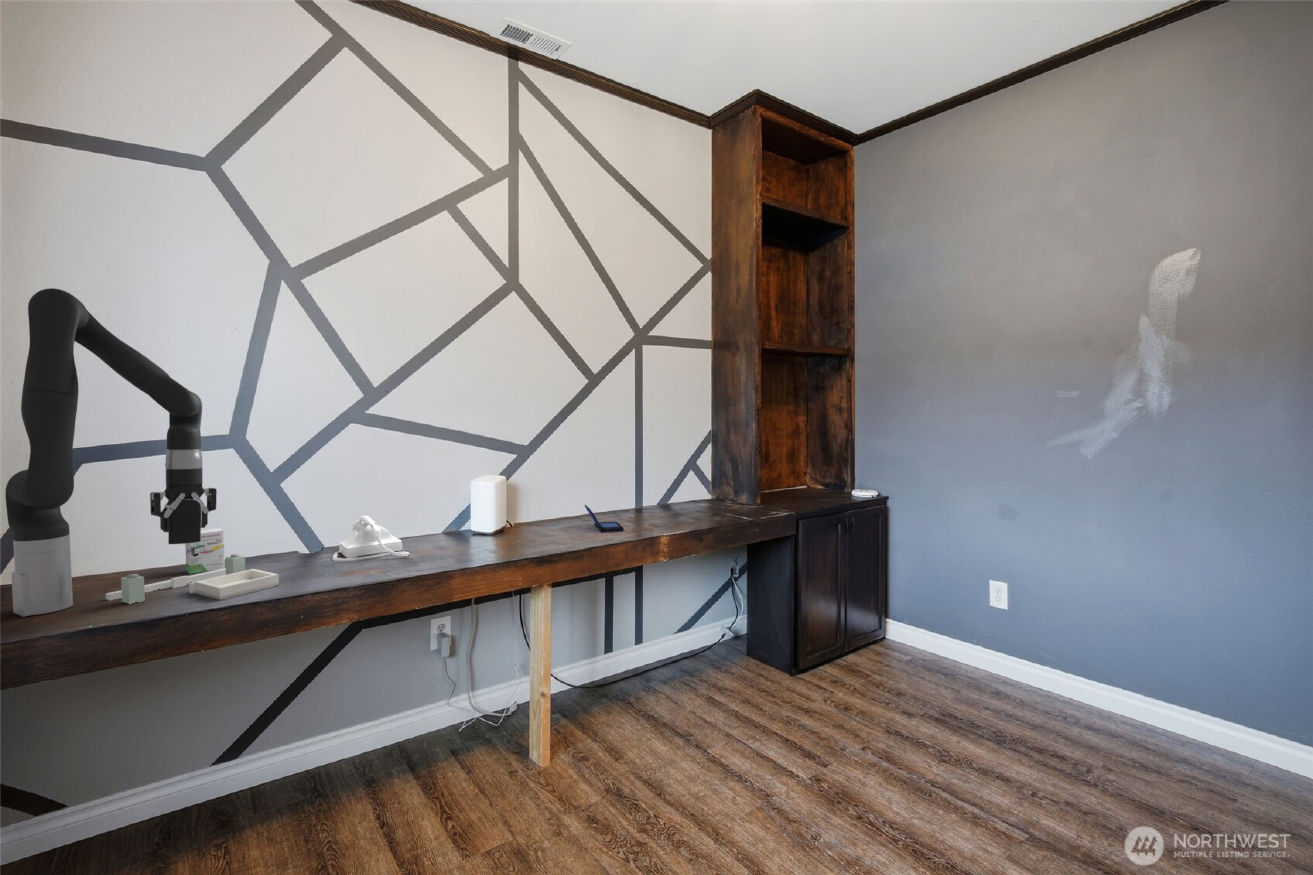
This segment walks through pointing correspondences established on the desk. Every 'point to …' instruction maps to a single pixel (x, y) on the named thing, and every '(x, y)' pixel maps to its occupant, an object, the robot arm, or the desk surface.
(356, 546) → the telephone
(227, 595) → the tray
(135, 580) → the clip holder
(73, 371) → the robot arm
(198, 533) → the black rounded upright slab
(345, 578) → the desk surface
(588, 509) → the handheld game console
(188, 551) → the ink box
